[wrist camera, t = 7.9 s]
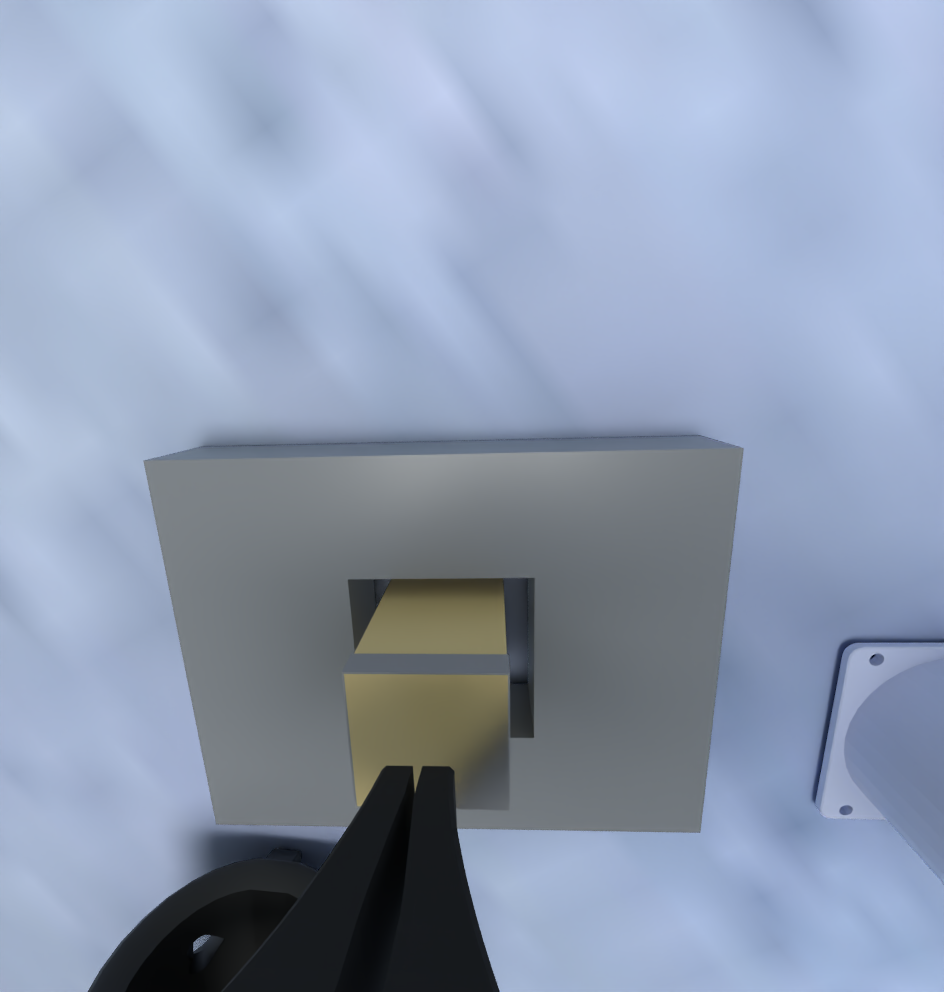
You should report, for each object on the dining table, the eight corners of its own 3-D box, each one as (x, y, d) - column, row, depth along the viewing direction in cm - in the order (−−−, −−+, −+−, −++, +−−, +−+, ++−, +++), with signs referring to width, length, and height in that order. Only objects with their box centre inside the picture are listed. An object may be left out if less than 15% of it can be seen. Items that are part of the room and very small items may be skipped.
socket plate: (699, 435, 17) (743, 448, 14) (670, 766, 20) (699, 832, 17) (201, 446, 17) (143, 460, 15) (254, 762, 21) (216, 824, 18)
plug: (503, 562, 18) (509, 673, 11) (504, 657, 19) (510, 811, 12) (397, 562, 18) (341, 672, 12) (403, 656, 19) (355, 808, 13)
